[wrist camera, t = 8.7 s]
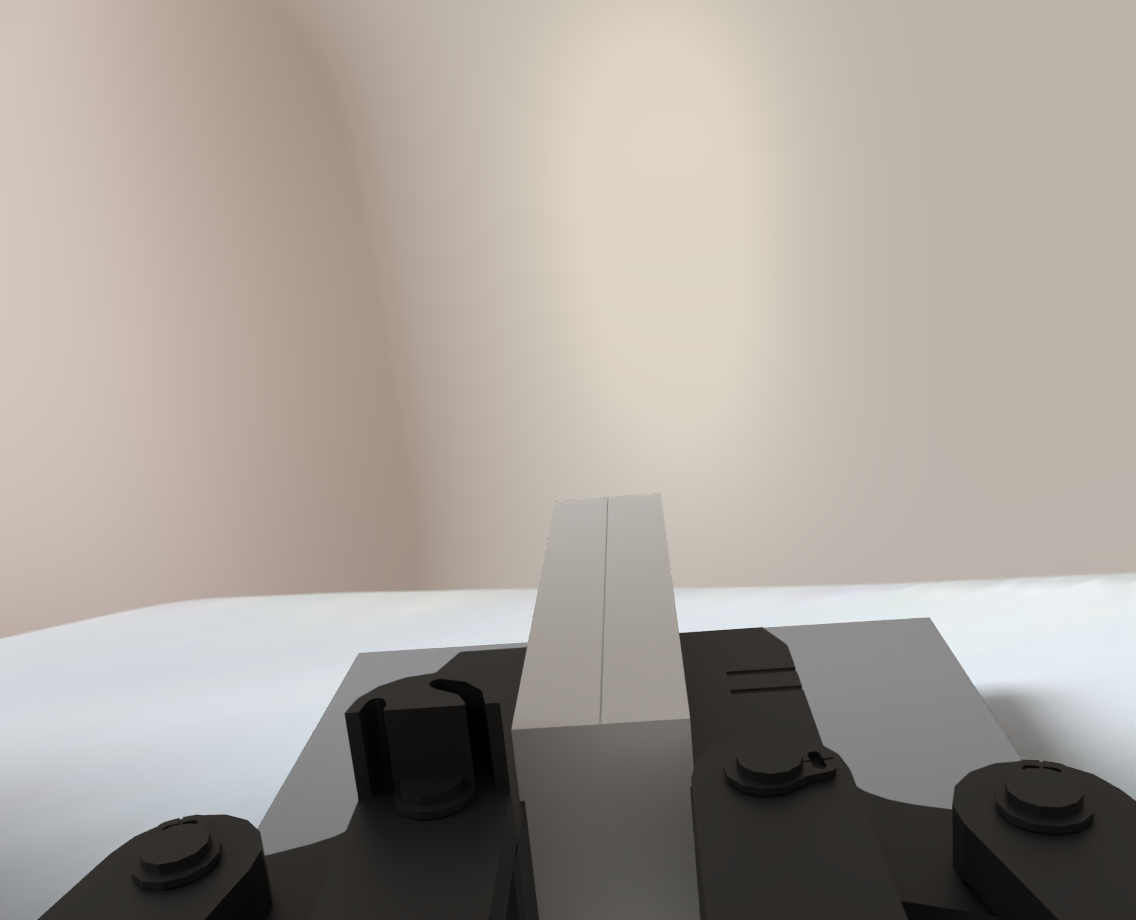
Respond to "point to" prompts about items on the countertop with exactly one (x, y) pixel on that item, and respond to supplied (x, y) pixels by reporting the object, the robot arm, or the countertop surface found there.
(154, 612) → the countertop surface
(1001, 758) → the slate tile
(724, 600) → the countertop surface
